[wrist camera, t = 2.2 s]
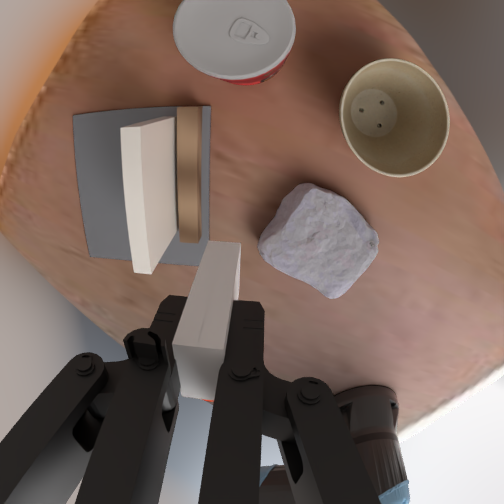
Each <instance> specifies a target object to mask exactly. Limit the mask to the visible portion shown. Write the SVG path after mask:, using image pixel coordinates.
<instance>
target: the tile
mask: <svg viewBox="0 0 504 504" xmlns="http://www.w3.org/2000/svg"><path fill="white" fill-rule="evenodd" d="M120 130H121V155H122V171H123V185H124V196H125V207H126V216H127V225H128V234H129V241H130V249H131V256H132V262H133V269H134V273H143V274H152V272H153V271H154V269H155V267H156V265H157V264H158V262H159V260H160V259H161V257H162V255H163V254H164V252H165V250H166V249H167V247H168V245H169V244H170V242H171V240H172V239H173V237H174V235H175V234H176V232H177V231H178V229H179V216H178V187H177V116H163V117H159V118H155V119H151V120H147V121H143V122H139V123H136V124H132V125H128V126H125V127H121V128H120Z"/></svg>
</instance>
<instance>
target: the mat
mask: <svg viewBox="0 0 504 504" xmlns="http://www.w3.org/2000/svg"><path fill="white" fill-rule="evenodd" d="M177 107H182V106H173V107H151V108H135V109H123V110H112V111H103V112H95V113H87V114H79V115H73V132H74V147H75V160H76V170H77V180H78V188H79V196H80V203H81V210H82V216H83V222H84V228H85V234H86V239H87V245H88V250H89V255H90V257H97V258H108V259H119V260H130V261H132V256H131V249H130V241H129V234H128V225H127V216H126V207H125V196H124V185H123V171H122V155H121V130H120V128H121V127H125V126H128V125H132V124H136V123H139V122H143V121H147V120H151V119H155V118H159V117H163V116H177ZM210 127H211V106H203V108H202V153H201V220H202V236H201V238H200V240H199V243H198V244H197V243H182V242H180V237H179V229H178V231H177V232H176V234H175V235H174V237H173V239H172V240H171V242H170V244H169V245H168V247H167V249H166V250H165V252H164V254H163V255H162V257H161V259H160V260H159V262H158V263H165V264H177V265H190V266H199V265H200V262H201V259H202V257H203V254H204V251H205V248H206V246H207V243H208V241H209V174H210Z"/></svg>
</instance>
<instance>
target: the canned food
mask: <svg viewBox="0 0 504 504" xmlns="http://www.w3.org/2000/svg"><path fill="white" fill-rule="evenodd" d="M295 33H296V26H295V18H294V15H293V12H292V9H291V7H290V6H289V4H288V2H287V1H286V0H183V1H182V3H181V4H180V5H179V7H178V9H177V11H176V14H175V16H174V22H173V37H174V40H175V43H176V46H177V48H178V50H179V51H180V53H181V55H182V56H183V57H184V58H185V59H186V60H187V61H188V62H189V64H191V65H192V66H193V67H195V68H196V69H197V70H199V71H201V72H203V73H205V74H207V75H209V76H211V77H215V78H218V79H221V80H224V81H226V82H230V83H233V84H238V85H254V84H259V83H261V82H264V81H267V80H268V79H270V78H271V77H273V76H274V75H275V74H276V73H277V72H278V71H279V70H280V69H281V67H282V66H283V64H284V62H285V60H286V59H287V57H288V55H289V53H290V50H291V48H292V46H293V43H294V39H295Z"/></svg>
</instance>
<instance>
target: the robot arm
mask: <svg viewBox="0 0 504 504" xmlns="http://www.w3.org/2000/svg"><path fill="white" fill-rule="evenodd" d="M240 255H241V243H236V242H221V241H208V243H207V246H206V248H205V251H204V254H203V257H202V259H201V262H200V265H199V267H198V270H197V273H196V276H195V279H194V281H193V284H192V287H191V290H190V293H189V296H188V297H184V296H174V295H169V296H168V297H167V298H166V299H164V300H163V301H162V302H161V304H160V306H159V308H158V310H157V313H156V315H155V317H154V321H153V322H152V324H151V326H150V328H141V329H137V330H134V331H132V332H131V333H129V334H127V336H126V337H125V338H124V339H123V341H124V345H125V348H126V351H127V355H128V358H129V359H127V360H124V361H118V362H103V360H102V358H101V357H100V356H98V355H97V354H94V353H90V352H89V353H82V354H79V355H76V356H75V357H74V358H73V359H71V360H70V361H69V362H68V364H67V365H66V366H65V367H64V368H63V369H62V370H61V371H60V373H59V374H58V375H57V376H56V377H55V378H54V379H53V380H52V382H51V383H50V384H49V385H48V386H47V387H46V388H45V390H44V391H43V392H42V393H41V394H40V395H39V397H38V398H37V399H36V400H35V401H34V402H33V404H32V405H31V406H30V407H29V408H28V410H27V411H26V412H25V413H24V414H23V415H22V417H21V418H20V419H19V421H18V422H17V423H16V424H15V425H14V426H13V428H12V429H11V430H10V431H9V433H8V434H7V435H6V436H5V438H4V439H3V440H2V441H1V443H0V504H66V502H67V501H68V499H69V498H70V496H71V495H72V493H73V492H74V490H75V489H76V487H77V486H78V484H79V482H80V481H81V479H82V478H83V480H82V483H81V486H80V489H79V492H78V495H77V499H76V502H75V504H158V502H159V497H160V492H161V488H162V483H163V478H164V473H165V469H166V464H167V459H168V455H169V450H170V445H171V441H172V437H173V432H174V428H175V424H176V419H177V415H178V411H179V404H178V396H179V392H180V391H181V395H182V397H189V398H197V399H205V400H214V404H213V411H212V417H211V423H210V430H209V436H208V443H207V449H206V455H205V462H204V468H203V475H202V481H201V488H200V495H199V502H198V504H409V501H410V495H409V488H408V484H409V481H408V480H407V476H406V472H405V467H404V463H403V458H402V454H401V450H400V446H399V442H398V438H397V424H398V413H399V404H398V400H397V397H396V394H395V393H394V392H393V391H392V390H391V389H389V388H386V387H382V386H364V387H358V388H354V389H351V390H348V391H345V392H342V393H340V394H338V395H336V396H333V394H332V391H331V390H330V388H329V387H328V385H327V384H326V383H324V382H323V381H321V380H320V379H316V378H313V377H302V378H300V379H297V380H295V381H293V382H292V383H291V382H288V381H285V380H282V379H279V378H277V377H275V376H273V375H272V374H271V373H269V371H268V370H267V369H266V367H265V365H264V361H263V351H264V313H265V311H264V309H263V307H262V306H261V304H260V302H254V301H240V300H238V296H239V280H240ZM262 434H263V435H265V436H268V437H271V438H274V439H277V442H278V446H279V449H280V452H281V456H282V459H283V463H284V465H277V464H275V465H272V466H262V467H260V464H261V440H262ZM83 476H84V477H83Z"/></svg>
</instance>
